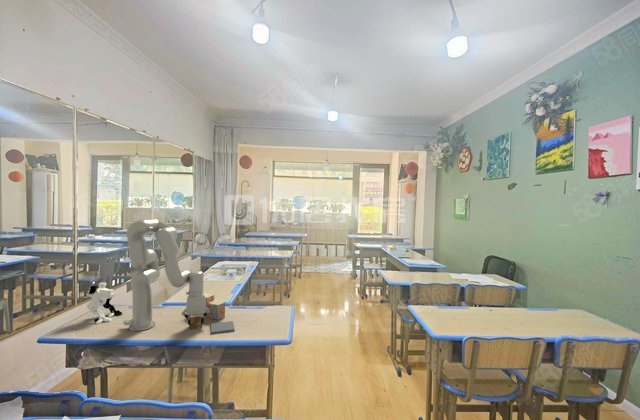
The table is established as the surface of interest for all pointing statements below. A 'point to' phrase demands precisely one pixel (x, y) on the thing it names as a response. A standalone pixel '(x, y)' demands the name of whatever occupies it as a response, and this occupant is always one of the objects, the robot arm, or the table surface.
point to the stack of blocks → (214, 307)
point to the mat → (222, 327)
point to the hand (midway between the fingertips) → (195, 324)
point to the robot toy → (102, 302)
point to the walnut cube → (195, 321)
